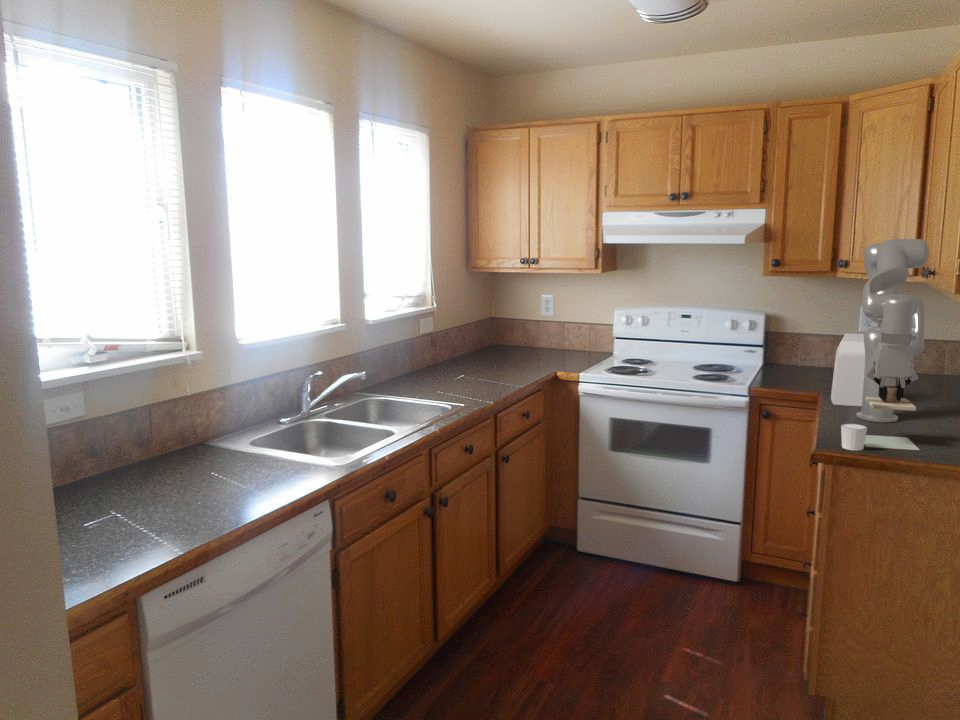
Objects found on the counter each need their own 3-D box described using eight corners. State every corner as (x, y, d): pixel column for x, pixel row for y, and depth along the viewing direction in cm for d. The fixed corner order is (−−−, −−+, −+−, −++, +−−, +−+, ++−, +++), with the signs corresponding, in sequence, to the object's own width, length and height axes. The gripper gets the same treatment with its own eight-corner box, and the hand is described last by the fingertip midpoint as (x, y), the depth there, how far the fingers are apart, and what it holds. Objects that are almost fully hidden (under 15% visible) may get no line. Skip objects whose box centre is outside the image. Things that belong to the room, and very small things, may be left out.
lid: (865, 399, 220) (866, 382, 219) (905, 401, 217) (907, 383, 216) (873, 408, 210) (874, 390, 209) (915, 410, 207) (917, 392, 206)
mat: (856, 436, 224) (856, 434, 224) (907, 439, 220) (907, 437, 219) (866, 448, 210) (866, 446, 210) (920, 451, 206) (920, 450, 206)
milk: (833, 404, 267) (837, 335, 262) (830, 398, 277) (835, 331, 273) (869, 406, 262) (874, 336, 258) (865, 400, 273) (870, 332, 269)
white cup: (842, 444, 214) (844, 422, 213) (868, 448, 210) (869, 425, 209) (836, 450, 209) (838, 426, 208) (862, 454, 205) (864, 430, 204)
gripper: (923, 337, 211) (918, 398, 215) (861, 336, 216) (857, 395, 219) (931, 342, 204) (925, 404, 208) (866, 340, 209) (862, 401, 212)
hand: (890, 399), depth 213 cm, fingers closed on lid, 3 cm apart
